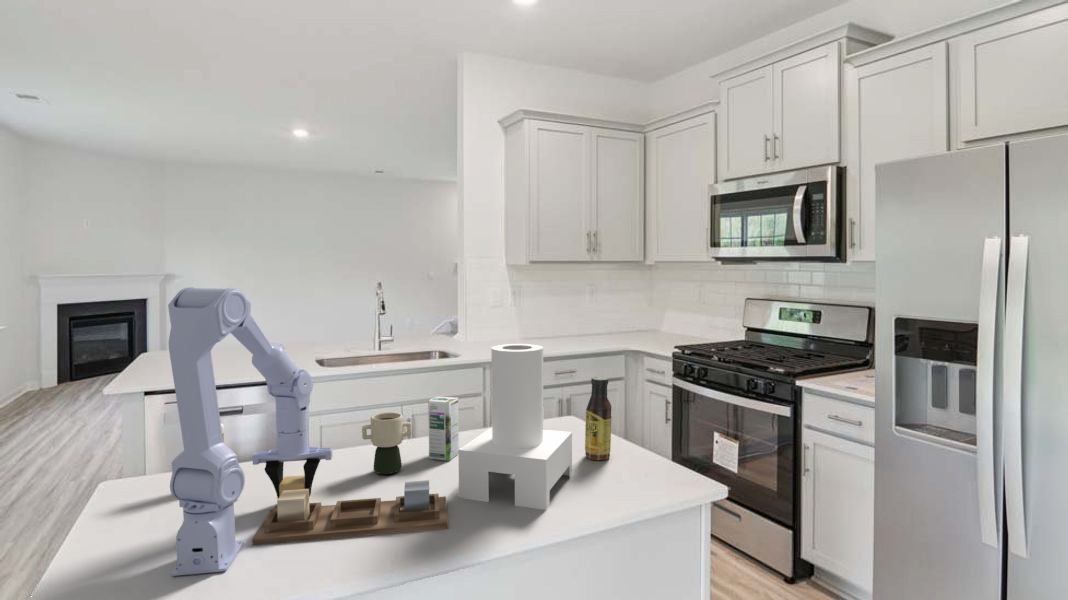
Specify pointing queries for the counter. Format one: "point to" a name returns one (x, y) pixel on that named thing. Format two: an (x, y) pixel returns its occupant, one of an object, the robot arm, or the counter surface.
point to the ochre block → (292, 483)
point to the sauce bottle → (598, 421)
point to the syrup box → (443, 428)
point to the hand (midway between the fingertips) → (294, 496)
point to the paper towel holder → (516, 433)
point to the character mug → (387, 440)
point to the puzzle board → (352, 516)
